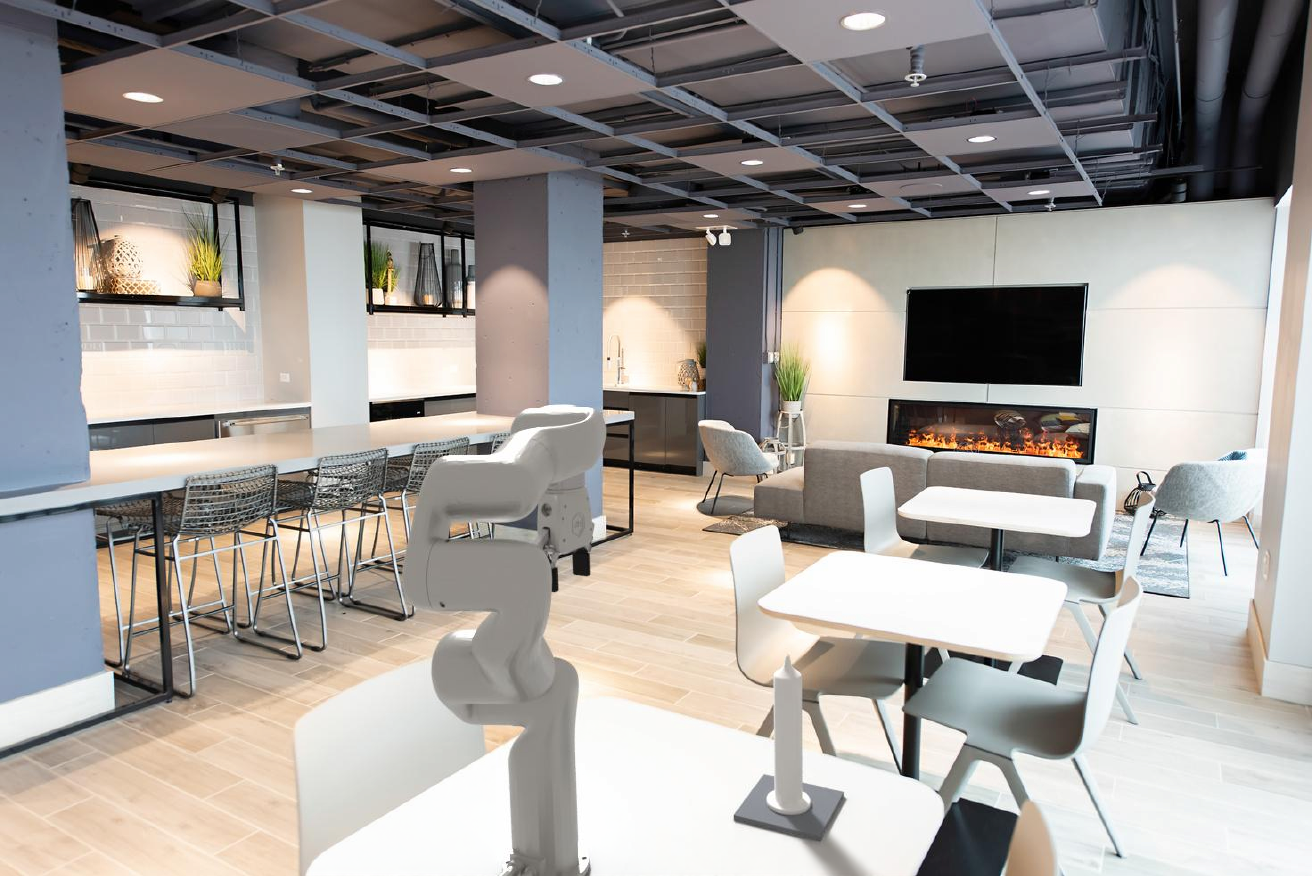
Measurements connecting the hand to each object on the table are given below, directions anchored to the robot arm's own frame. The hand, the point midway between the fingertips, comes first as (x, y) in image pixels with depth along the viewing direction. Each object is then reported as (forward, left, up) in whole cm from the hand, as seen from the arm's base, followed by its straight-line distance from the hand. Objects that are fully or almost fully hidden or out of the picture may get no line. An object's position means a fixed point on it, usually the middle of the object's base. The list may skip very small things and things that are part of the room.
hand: (566, 582), depth 141 cm
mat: (+10, -35, -36) cm, 51 cm away
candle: (+10, -35, -36) cm, 51 cm away
